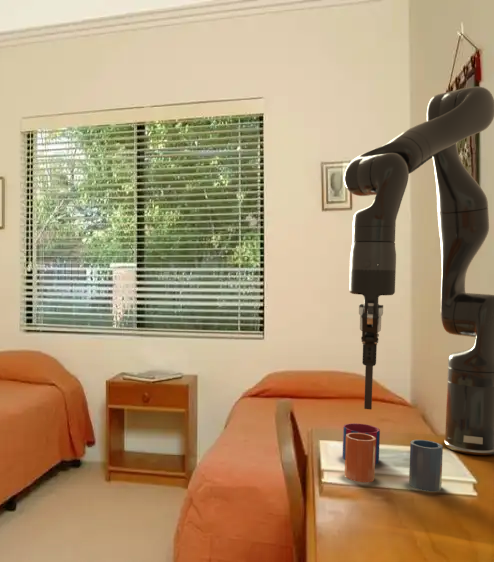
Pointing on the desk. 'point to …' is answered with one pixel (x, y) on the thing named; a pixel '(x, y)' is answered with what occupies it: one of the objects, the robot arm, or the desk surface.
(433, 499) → the desk surface
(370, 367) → the chopstick
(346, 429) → the mug
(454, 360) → the robot arm
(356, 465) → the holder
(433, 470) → the holder
